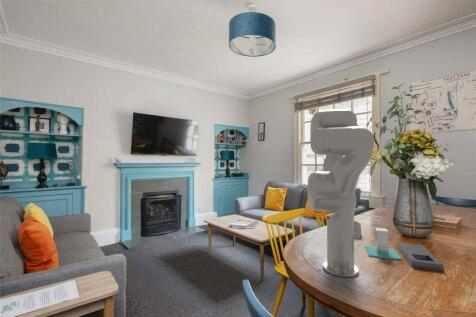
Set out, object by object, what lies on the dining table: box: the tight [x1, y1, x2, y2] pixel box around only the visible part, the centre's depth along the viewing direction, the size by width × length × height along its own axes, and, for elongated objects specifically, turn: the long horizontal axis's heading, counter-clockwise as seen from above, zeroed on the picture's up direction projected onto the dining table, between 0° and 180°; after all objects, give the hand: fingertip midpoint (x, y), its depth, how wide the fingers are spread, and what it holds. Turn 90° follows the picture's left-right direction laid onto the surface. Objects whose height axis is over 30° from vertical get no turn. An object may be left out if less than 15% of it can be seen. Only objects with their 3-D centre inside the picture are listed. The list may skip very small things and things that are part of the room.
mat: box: [364, 245, 402, 261], centre depth 108 cm, size 12×12×1 cm
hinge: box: [354, 220, 363, 239], centre depth 135 cm, size 17×5×10 cm, turn 54°
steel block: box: [374, 227, 390, 254], centre depth 108 cm, size 4×4×10 cm
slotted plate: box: [396, 242, 444, 272], centre depth 102 cm, size 22×10×2 cm, turn 159°
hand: (334, 191), depth 113 cm, fingers open, 9 cm apart
